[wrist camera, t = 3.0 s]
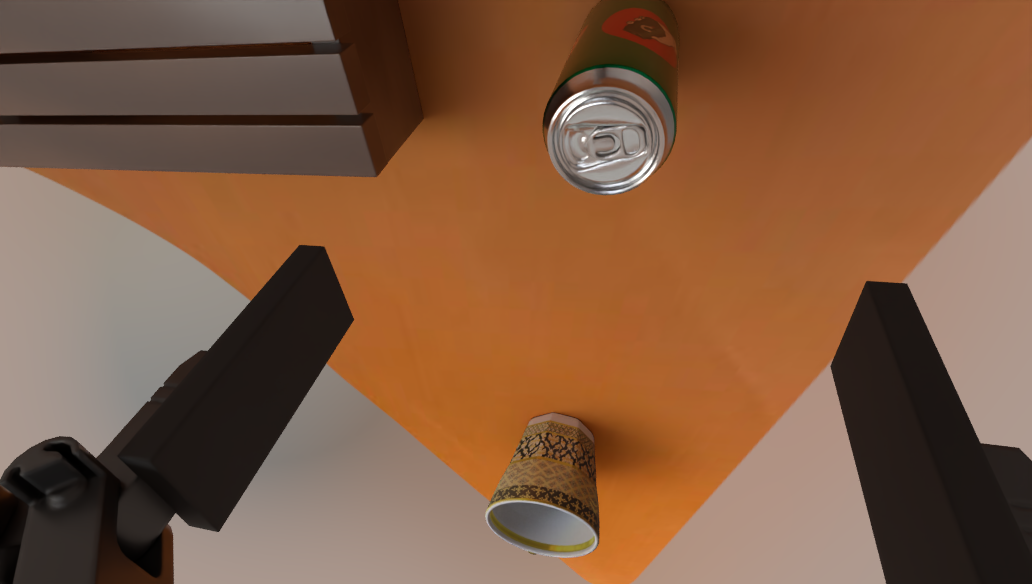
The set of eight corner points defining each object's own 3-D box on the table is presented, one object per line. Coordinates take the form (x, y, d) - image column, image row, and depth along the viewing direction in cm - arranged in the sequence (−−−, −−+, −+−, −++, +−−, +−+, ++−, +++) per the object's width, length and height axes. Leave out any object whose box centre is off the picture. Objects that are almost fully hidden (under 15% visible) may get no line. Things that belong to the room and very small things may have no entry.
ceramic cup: (517, 391, 51) (489, 488, 44) (621, 418, 50) (610, 522, 43) (504, 460, 60) (479, 551, 53) (593, 484, 59) (580, 580, 52)
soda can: (573, -1, 28) (521, 89, 19) (675, -25, 26) (669, 62, 18) (590, 94, 31) (552, 210, 22) (682, 79, 29) (681, 197, 21)
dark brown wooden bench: (-37, -116, 31) (-299, -84, 23) (375, -173, 25) (221, -158, 17) (107, 118, 40) (-42, 202, 32) (435, 118, 34) (354, 221, 26)
